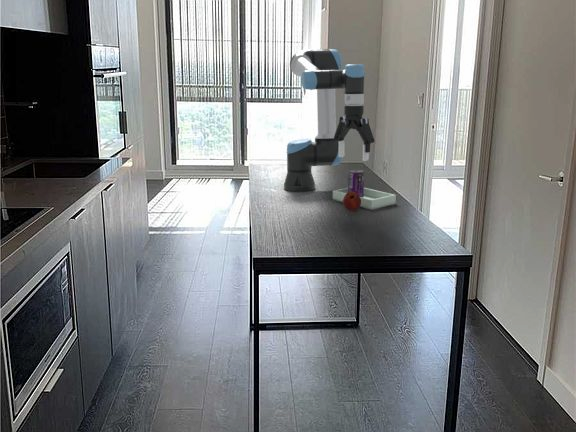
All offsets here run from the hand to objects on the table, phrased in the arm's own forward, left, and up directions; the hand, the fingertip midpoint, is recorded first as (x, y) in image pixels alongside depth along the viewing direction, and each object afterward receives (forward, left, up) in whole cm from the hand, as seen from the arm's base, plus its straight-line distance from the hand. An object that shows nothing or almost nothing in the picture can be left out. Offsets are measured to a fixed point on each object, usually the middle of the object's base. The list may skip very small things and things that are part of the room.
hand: (353, 158), depth 226 cm
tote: (-7, +13, -21) cm, 26 cm away
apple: (0, -1, -22) cm, 22 cm away
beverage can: (-12, +14, -21) cm, 28 cm away
